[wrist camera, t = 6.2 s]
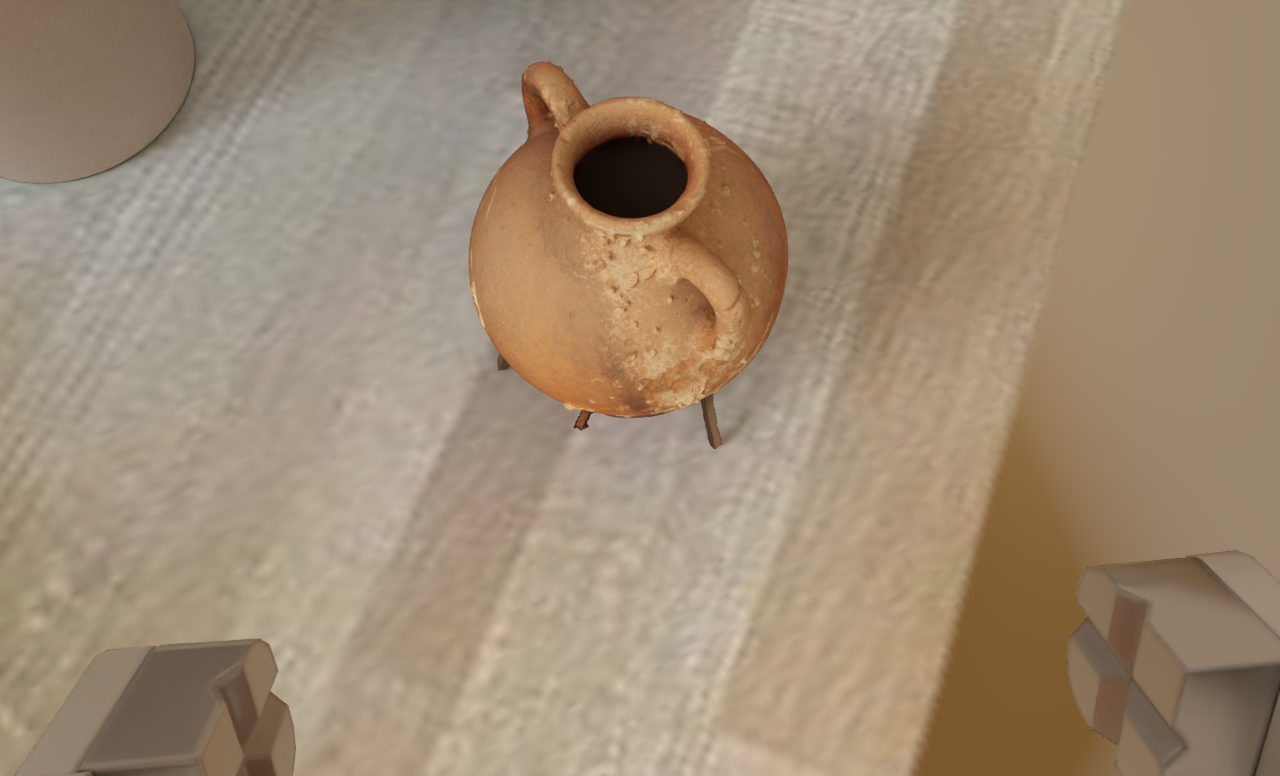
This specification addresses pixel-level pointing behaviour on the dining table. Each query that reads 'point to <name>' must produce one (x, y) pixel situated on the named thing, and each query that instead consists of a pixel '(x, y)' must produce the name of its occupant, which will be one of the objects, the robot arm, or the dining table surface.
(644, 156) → the pot
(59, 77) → the coffee cup
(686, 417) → the dining table surface
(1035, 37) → the dining table surface
